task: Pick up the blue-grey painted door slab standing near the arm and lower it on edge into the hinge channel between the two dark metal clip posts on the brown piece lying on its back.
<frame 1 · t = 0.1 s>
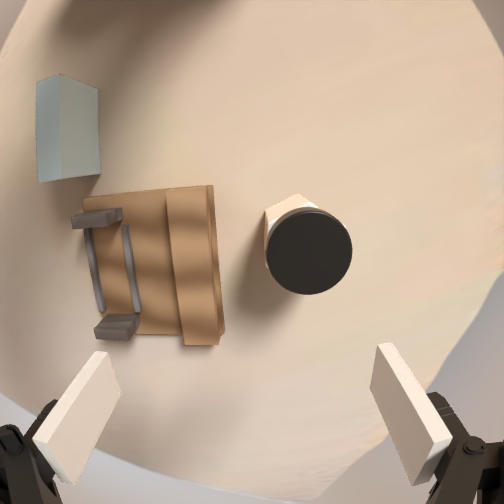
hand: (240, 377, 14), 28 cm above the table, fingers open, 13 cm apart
brown piece: (153, 264, 42), on the table
jar: (295, 228, 41), on the table
door: (88, 132, 38), on the table
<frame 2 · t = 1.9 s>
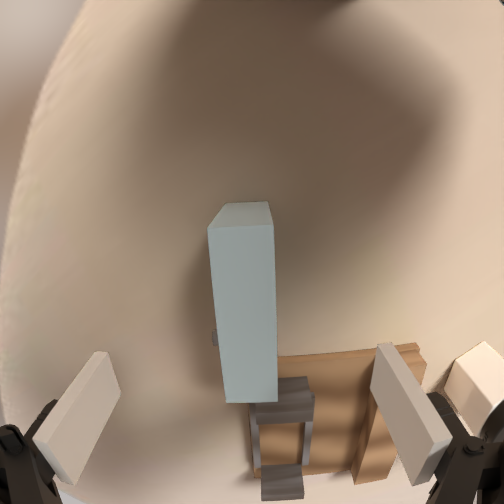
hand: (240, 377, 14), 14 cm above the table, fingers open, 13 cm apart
brown piece: (328, 420, 33), on the table
jar: (470, 369, 32), on the table
door: (250, 271, 28), on the table
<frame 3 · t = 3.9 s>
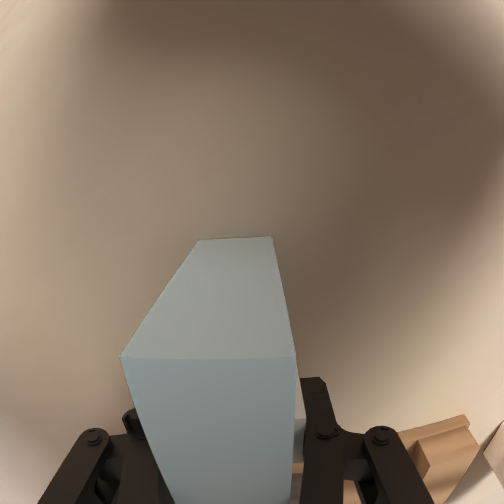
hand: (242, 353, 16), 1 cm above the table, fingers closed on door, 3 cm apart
brown piece: (344, 502, 22), on the table
door: (242, 346, 17), on the table, touching gripper
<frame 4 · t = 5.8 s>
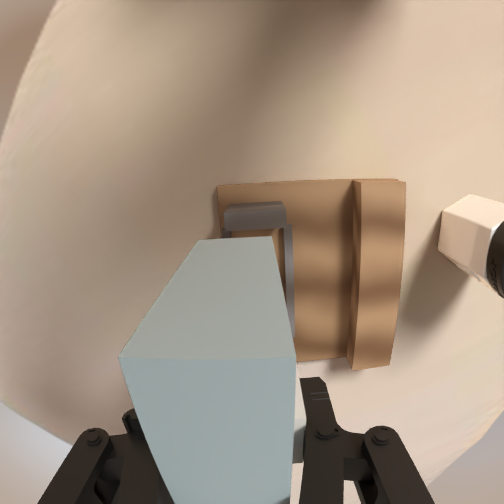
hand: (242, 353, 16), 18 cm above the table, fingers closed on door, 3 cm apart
brown piece: (312, 276, 34), on the table
jar: (463, 230, 32), on the table
door: (242, 346, 17), point 17 cm above the table, touching gripper
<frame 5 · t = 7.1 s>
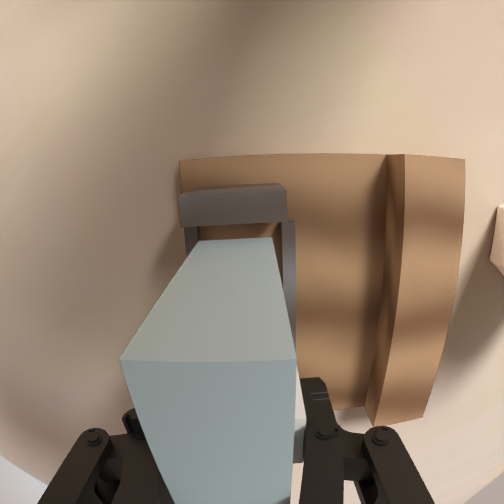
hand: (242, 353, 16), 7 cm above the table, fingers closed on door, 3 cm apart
brown piece: (323, 298, 23), on the table
door: (242, 347, 17), point 6 cm above the table, touching gripper
when the fingers open (3 cm above the table, at t = 8.0 s): door drops 1 cm, resting on brown piece.
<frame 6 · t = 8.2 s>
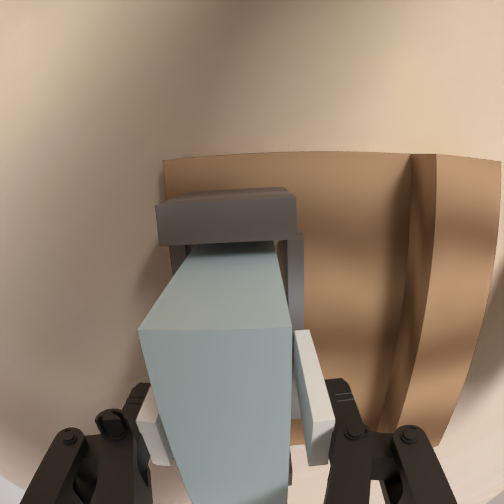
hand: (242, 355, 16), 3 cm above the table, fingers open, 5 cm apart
brown piece: (333, 321, 19), on the table
door: (243, 336, 18), point 1 cm above the table, touching brown piece
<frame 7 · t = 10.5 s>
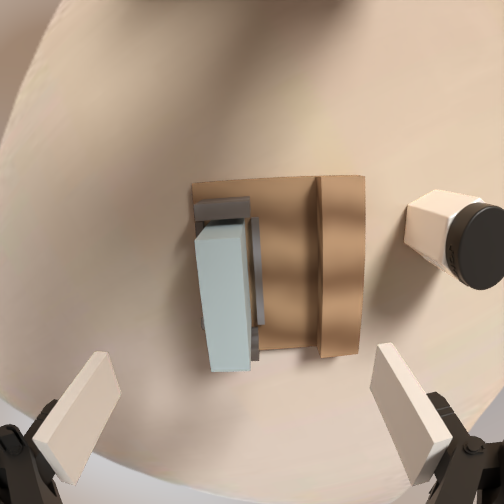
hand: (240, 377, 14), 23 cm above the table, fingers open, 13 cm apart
brown piece: (281, 267, 37), on the table
jar: (430, 224, 35), on the table
door: (232, 272, 36), point 1 cm above the table, touching brown piece
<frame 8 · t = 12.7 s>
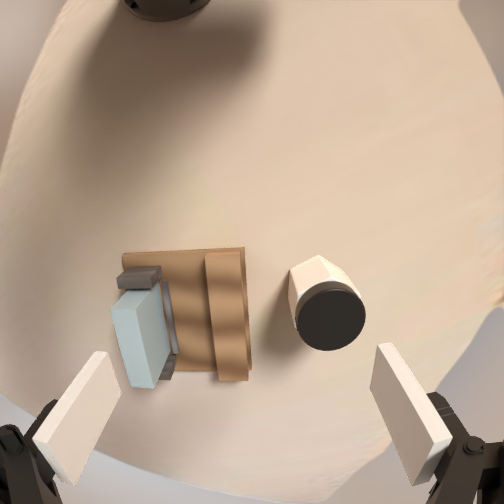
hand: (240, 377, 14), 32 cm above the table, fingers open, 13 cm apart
brown piece: (189, 313, 48), on the table
jar: (314, 283, 47), on the table
door: (153, 317, 47), point 1 cm above the table, touching brown piece
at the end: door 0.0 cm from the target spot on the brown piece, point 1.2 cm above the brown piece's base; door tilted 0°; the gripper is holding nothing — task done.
